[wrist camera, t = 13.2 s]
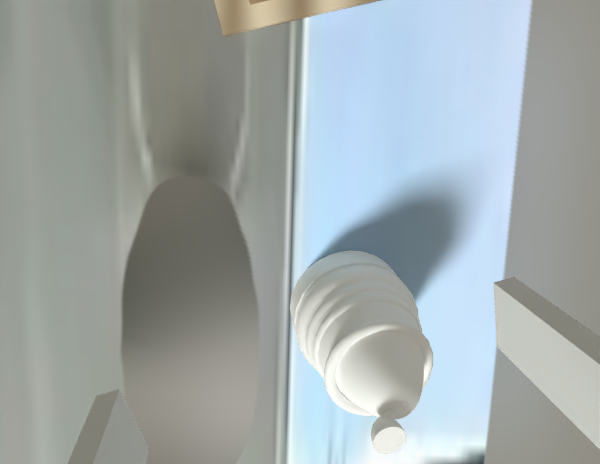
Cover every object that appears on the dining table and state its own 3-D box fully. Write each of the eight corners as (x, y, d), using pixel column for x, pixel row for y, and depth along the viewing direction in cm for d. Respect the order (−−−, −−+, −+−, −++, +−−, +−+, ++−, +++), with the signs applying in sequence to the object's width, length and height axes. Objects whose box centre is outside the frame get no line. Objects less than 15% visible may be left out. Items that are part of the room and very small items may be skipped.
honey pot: (343, 368, 50) (399, 510, 34) (266, 309, 46) (286, 439, 29) (421, 295, 49) (521, 408, 32) (348, 227, 44) (420, 316, 28)
